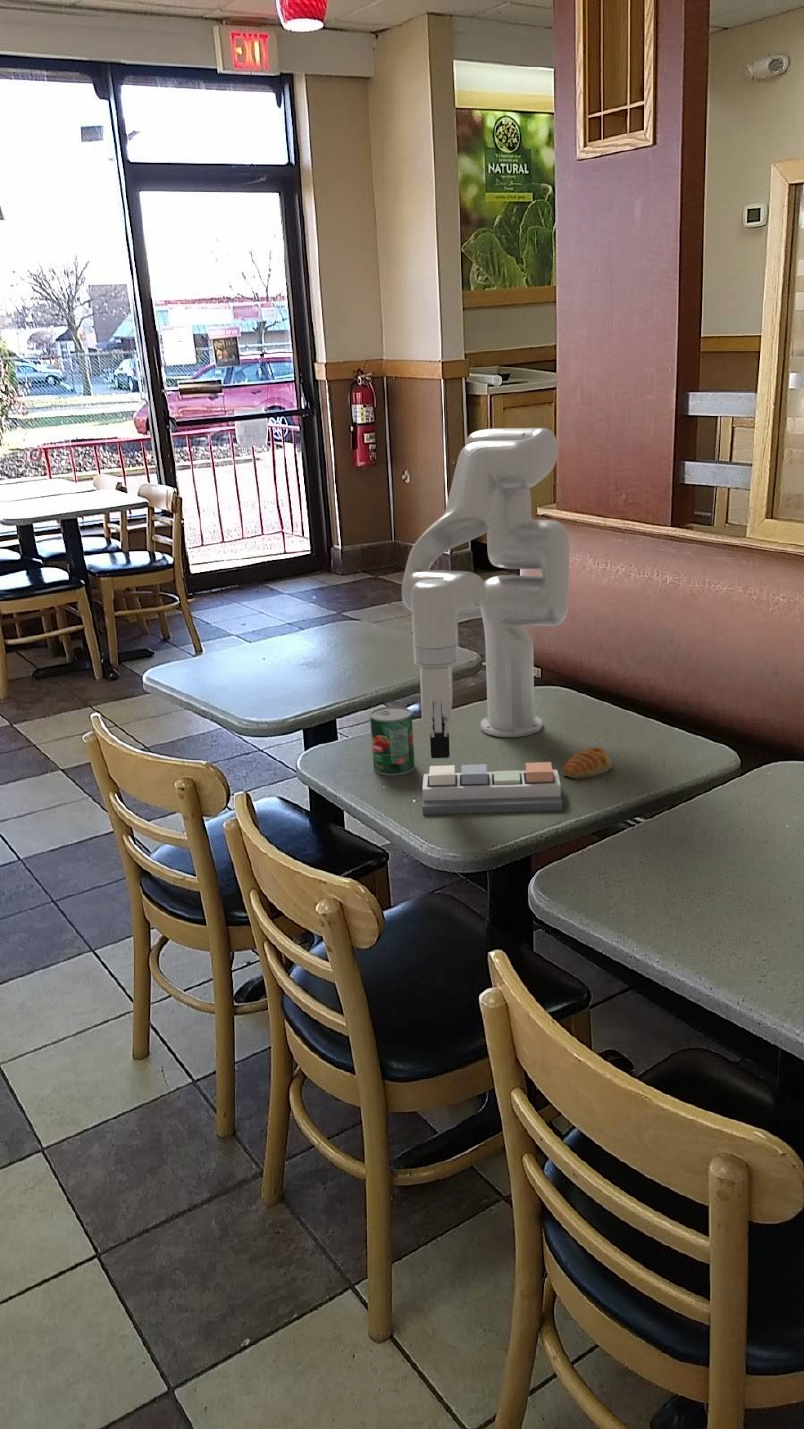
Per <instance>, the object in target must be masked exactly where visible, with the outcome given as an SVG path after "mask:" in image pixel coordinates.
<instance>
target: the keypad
mask: <svg viewBox="0 0 804 1429" xmlns="http://www.w3.org/2000/svg"><path fill="white" fill-rule="evenodd" d="M552 770H553V781H548V782H527V777H526V770H519V775H520V784H515V785H494V771H487V783H485V784H462V772H455V784H453V785H429V773H424V774H423V778H422V790H421V791H422V815H424V816H425V815H427V816H428V815H453V814H454V815H455V814H484V813H485V814H486V813H487V814H488V813H489V814H491V813H520V812H523V813H524V812H525V813H527V812H551V811H554V812H555V811H558V812H559V811H561V812H562V811H563V801H562V796H561V794H562V792H561V791H562V788H561V787H562V786H561V784H562V783H561V781H560V776H559V772H558V769H552Z"/></svg>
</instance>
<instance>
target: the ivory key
mask: <svg viewBox="0 0 804 1429" xmlns="http://www.w3.org/2000/svg"><path fill="white" fill-rule="evenodd" d="M455 773H456V765H451V764H450V765H430V766H429V772H428V774H429V785H453V784H455Z"/></svg>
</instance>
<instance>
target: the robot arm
mask: <svg viewBox="0 0 804 1429" xmlns="http://www.w3.org/2000/svg"><path fill="white" fill-rule="evenodd" d="M558 444H559V443H558V440H557V438H556V436H555V434H554V433H553V431H552V430H550V429H549V428H545V427H519V428H518V427H517V428H514V427H513V428H512V427H504V428H503V427H502V428H499V427H497V428H485V429H480V430H477V431H473V432H472V433H470V434H469V435H468V437H467V439H466V442H465V446H463V448H462V449H461V450H460V451H459V454H458V457H457V462H456V465H455V470H454V474H453V478H452V481H451V485H450V489H449V494H448V497H447V502H446V507H445V511H444V513H443V515H442V516H441V517H440V518H439V519H437V520H436V521H434V522H433V523H432V524H431V525H430V526H429V527H428V528H427V529H426V530H425V531H424V532H423V533H422V534H421V535H420V536H419V538H418V539H417V540H416V541H415V543H414V545H412V547H411V549H410V552H409V554H408V556H407V561H406V565H405V569H404V574H403V578H402V583H401V599H402V602H403V604H404V607H405V608H406V609H407V610H409V611H410V612H411V624H412V641H413V642H412V644H413V663H414V665H415V666H417V667H419V668H420V670H419V671H420V673H419V674H420V675H419V676H420V679H419V680H420V681H419V682H420V684H419V685H420V702H421V703H420V706H421V707H420V708H421V709H420V710H421V723H422V725H426V724H428V723H430V734H429V738H430V742H429V743H430V744H429V745H430V757H431V759H449V758H450V756H451V755H450V753H451V751H450V733H449V732H448V724H449V723H450V722H451V717H452V708H453V707H452V706H453V666H455V665H457V664H458V663H459V661H460V659H459V657H460V656H459V653H460V652H459V630H458V629H459V628H458V627H459V626H458V618H463V617H468V616H471V615H474V614H475V613H477V612H478V611H479V610H480V613H481V618H482V622H483V623H482V625H483V629H484V630H483V631H484V639H485V642H484V644H485V666H486V668H485V673H486V675H485V676H486V698H487V700H486V701H487V702H486V703H487V704H486V705H487V716H486V717H483V719H482V720H481V721H480V729H481V731H482V732H483V733H485V734H487V735H489V736H493V737H494V736H495V737H499V738H519V737H527V736H531V735H533V734H536V733H538V732H539V731H540V730H542V728H543V721H542V719H541V718H540V717H539V716H537V715H535V685H534V683H535V682H534V681H535V679H534V678H535V676H534V674H535V673H534V644H533V641H532V637H531V636H530V634H529V632H528V630H527V629H526V628H525V627H524V626H525V625H526V626H545V627H553V626H554V627H555V626H558V625H561V624H562V623H563V622H564V621H565V619H566V617H567V614H568V609H569V598H570V597H569V595H570V593H569V592H570V591H569V589H570V539H569V534H568V530H567V528H566V527H565V525H564V524H562V523H561V522H560V521H558V520H552V519H551V520H550V519H533V518H532V496H531V495H532V494H531V490H530V489H531V488H533V487H534V486H536V485H537V484H539V483H540V482H541V481H543V479H545V478H546V477H547V476H549V474H550V473H551V472H552V471H553V469H554V468H555V466H556V464H557V460H558V454H559V445H558ZM485 534H486V544H487V546H486V547H487V548H486V549H487V557H488V560H489V562H490V564H491V565H492V566H494V567H496V568H503V569H510V570H511V569H513V570H514V569H515V570H517V569H518V570H538V571H540V572H541V574H542V576H536V575H535V576H531V575H530V576H528V575H510V574H509V575H508V574H507V575H506V574H505V575H504V574H503V575H495V576H492V577H490V578H488V579H486V580H485V581H484V580H483V578H482V577H481V576H480V575H479V574H477V573H474V572H471V571H465V570H464V571H463V570H447V569H446V570H443V569H431V567H432V565H433V564H434V563H435V561H436V560H437V559H438V558H439V557H440V556H442V555H443V554H445V553H446V552H448V551H449V550H451V549H454V548H456V547H457V546H460V545H462V544H465V543H467V542H471V541H472V540H475V539H477V538H478V537H481V536H483V535H485Z"/></svg>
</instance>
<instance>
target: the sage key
mask: <svg viewBox="0 0 804 1429" xmlns="http://www.w3.org/2000/svg"><path fill="white" fill-rule="evenodd" d="M519 771H520V770H493V772H494V785H515V784H520V775H519Z"/></svg>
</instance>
